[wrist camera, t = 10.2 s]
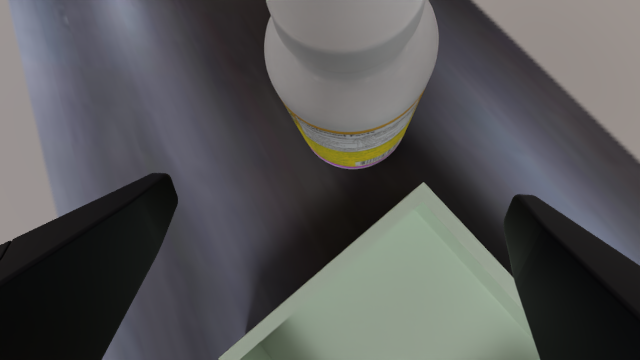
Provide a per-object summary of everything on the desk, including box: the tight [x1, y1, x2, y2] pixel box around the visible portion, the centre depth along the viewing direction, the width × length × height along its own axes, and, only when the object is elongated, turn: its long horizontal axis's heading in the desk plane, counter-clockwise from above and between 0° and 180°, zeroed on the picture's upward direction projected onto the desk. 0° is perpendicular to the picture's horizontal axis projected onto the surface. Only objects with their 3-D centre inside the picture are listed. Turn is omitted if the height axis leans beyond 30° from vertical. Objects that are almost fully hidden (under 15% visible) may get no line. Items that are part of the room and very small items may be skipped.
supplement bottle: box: [264, 0, 439, 169], centre depth 16 cm, size 7×7×13 cm
